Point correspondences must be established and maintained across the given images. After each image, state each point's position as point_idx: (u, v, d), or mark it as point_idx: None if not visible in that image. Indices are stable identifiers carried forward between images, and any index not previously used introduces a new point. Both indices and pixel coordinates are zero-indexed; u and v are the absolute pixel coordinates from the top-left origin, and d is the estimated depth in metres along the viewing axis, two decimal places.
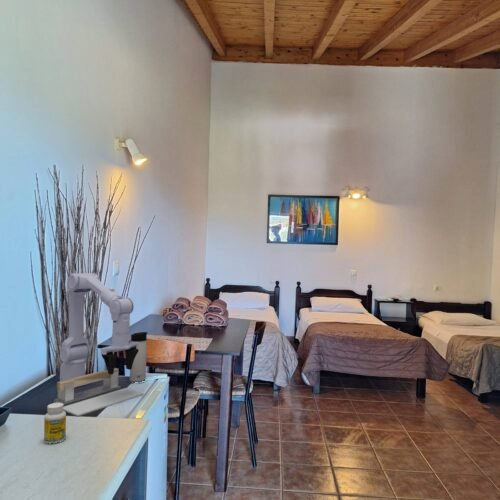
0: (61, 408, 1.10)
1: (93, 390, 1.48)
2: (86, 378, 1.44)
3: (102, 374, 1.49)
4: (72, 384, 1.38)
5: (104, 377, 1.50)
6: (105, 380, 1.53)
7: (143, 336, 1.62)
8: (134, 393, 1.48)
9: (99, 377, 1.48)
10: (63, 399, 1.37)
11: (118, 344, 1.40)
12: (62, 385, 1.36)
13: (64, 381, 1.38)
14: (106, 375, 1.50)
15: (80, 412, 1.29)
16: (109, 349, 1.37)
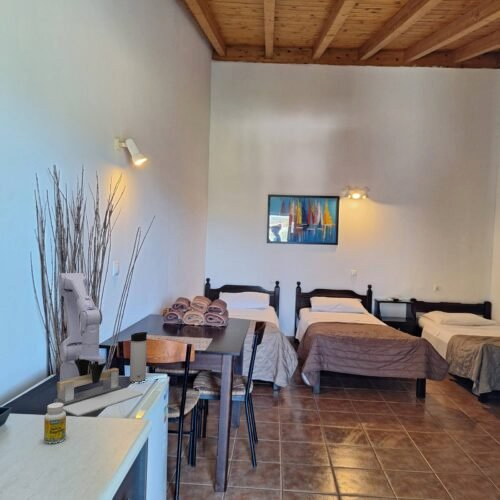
0: (61, 408, 1.10)
1: (93, 390, 1.48)
2: (86, 378, 1.44)
3: (102, 374, 1.49)
4: (72, 384, 1.38)
5: (104, 377, 1.50)
6: (105, 380, 1.53)
7: (143, 336, 1.62)
8: (134, 393, 1.48)
9: None
10: (63, 399, 1.37)
11: None
12: (62, 385, 1.36)
13: (64, 381, 1.38)
14: (106, 375, 1.50)
15: (80, 412, 1.29)
16: (78, 354, 1.48)
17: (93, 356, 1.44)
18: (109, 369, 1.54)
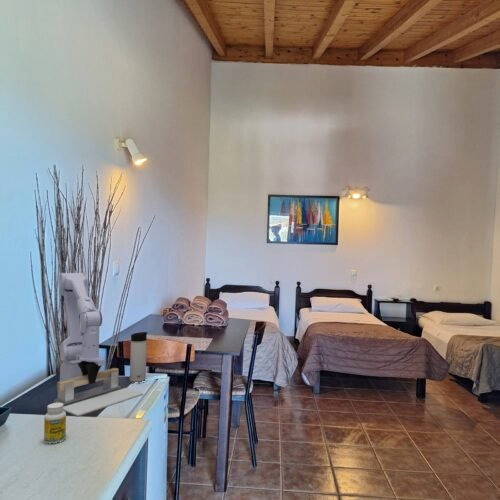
0: (61, 408, 1.10)
1: (93, 390, 1.48)
2: (86, 378, 1.44)
3: (102, 374, 1.49)
4: (72, 384, 1.38)
5: (104, 377, 1.50)
6: (105, 380, 1.53)
7: (143, 336, 1.62)
8: (134, 393, 1.48)
9: (99, 377, 1.48)
10: (63, 399, 1.37)
11: None
12: (62, 385, 1.36)
13: (64, 381, 1.38)
14: (106, 375, 1.50)
15: (80, 412, 1.29)
16: (78, 356, 1.48)
17: (93, 358, 1.44)
18: (109, 369, 1.54)
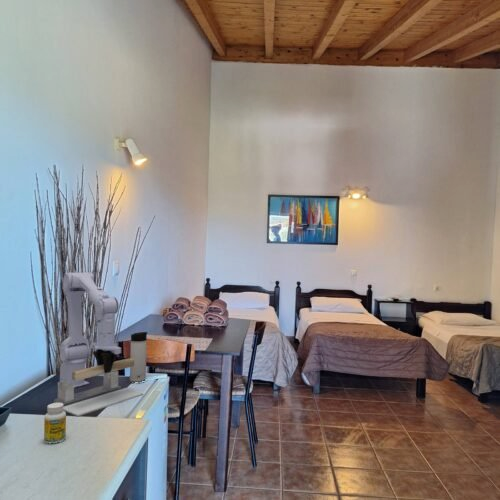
0: (61, 408, 1.10)
1: (93, 390, 1.48)
2: (102, 368, 1.38)
3: (118, 364, 1.44)
4: (72, 384, 1.38)
5: (120, 367, 1.44)
6: (105, 380, 1.53)
7: (143, 336, 1.62)
8: (134, 393, 1.48)
9: (115, 367, 1.43)
10: (63, 399, 1.37)
11: None
12: (78, 375, 1.31)
13: (79, 371, 1.33)
14: (122, 365, 1.45)
15: (80, 412, 1.29)
16: (93, 344, 1.43)
17: (109, 346, 1.39)
18: (124, 359, 1.48)
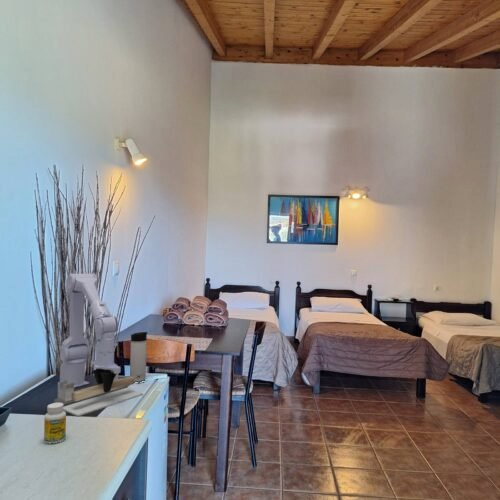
0: (61, 408, 1.10)
1: None
2: (101, 387, 1.38)
3: (117, 383, 1.44)
4: (72, 384, 1.38)
5: (119, 386, 1.44)
6: None
7: (143, 336, 1.62)
8: (134, 393, 1.48)
9: (114, 386, 1.43)
10: (63, 399, 1.37)
11: None
12: (77, 395, 1.31)
13: (79, 391, 1.33)
14: (121, 383, 1.45)
15: (80, 412, 1.29)
16: (92, 363, 1.43)
17: (108, 365, 1.39)
18: (124, 377, 1.48)
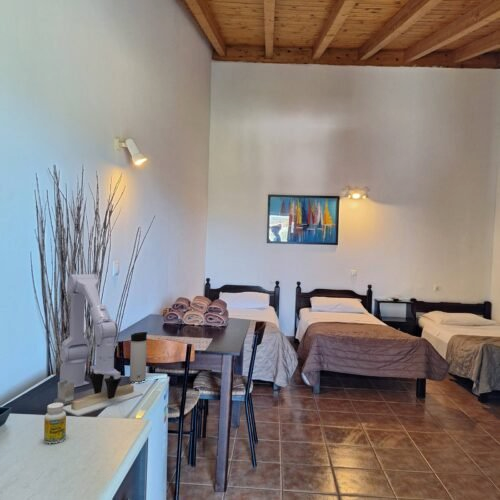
0: (61, 408, 1.10)
1: (93, 390, 1.48)
2: (101, 396, 1.38)
3: (117, 391, 1.44)
4: (72, 384, 1.38)
5: (119, 394, 1.44)
6: None
7: (143, 336, 1.62)
8: (134, 393, 1.48)
9: None
10: (63, 399, 1.37)
11: None
12: (77, 404, 1.31)
13: (79, 400, 1.33)
14: (121, 392, 1.45)
15: (80, 412, 1.29)
16: (92, 368, 1.43)
17: (108, 370, 1.39)
18: (124, 386, 1.48)
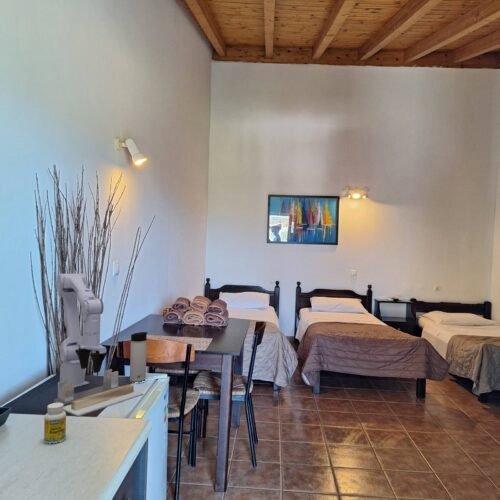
0: (61, 408, 1.10)
1: (93, 390, 1.48)
2: (101, 396, 1.38)
3: (117, 391, 1.44)
4: (72, 384, 1.38)
5: (119, 394, 1.44)
6: (105, 380, 1.53)
7: (143, 336, 1.62)
8: (134, 393, 1.48)
9: (114, 395, 1.43)
10: (63, 399, 1.37)
11: None
12: (77, 404, 1.31)
13: (79, 400, 1.33)
14: (121, 392, 1.45)
15: (80, 412, 1.29)
16: (79, 344, 1.48)
17: (94, 345, 1.44)
18: (124, 386, 1.48)
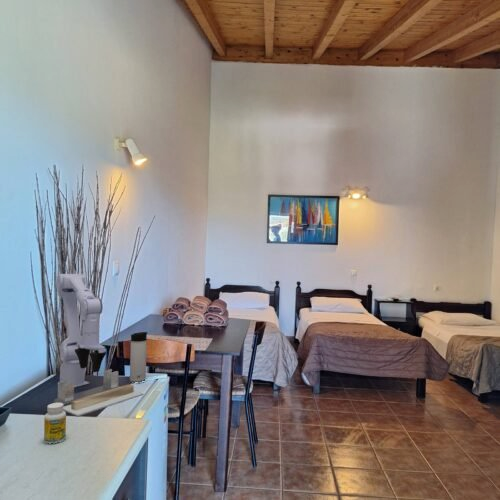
0: (61, 408, 1.10)
1: (93, 390, 1.48)
2: (101, 396, 1.38)
3: (117, 391, 1.44)
4: (72, 384, 1.38)
5: (119, 394, 1.44)
6: (105, 380, 1.53)
7: (143, 336, 1.62)
8: (134, 393, 1.48)
9: (114, 395, 1.43)
10: (63, 399, 1.37)
11: None
12: (77, 404, 1.31)
13: (79, 400, 1.33)
14: (121, 392, 1.45)
15: (80, 412, 1.29)
16: (78, 343, 1.48)
17: (93, 345, 1.44)
18: (124, 386, 1.48)
